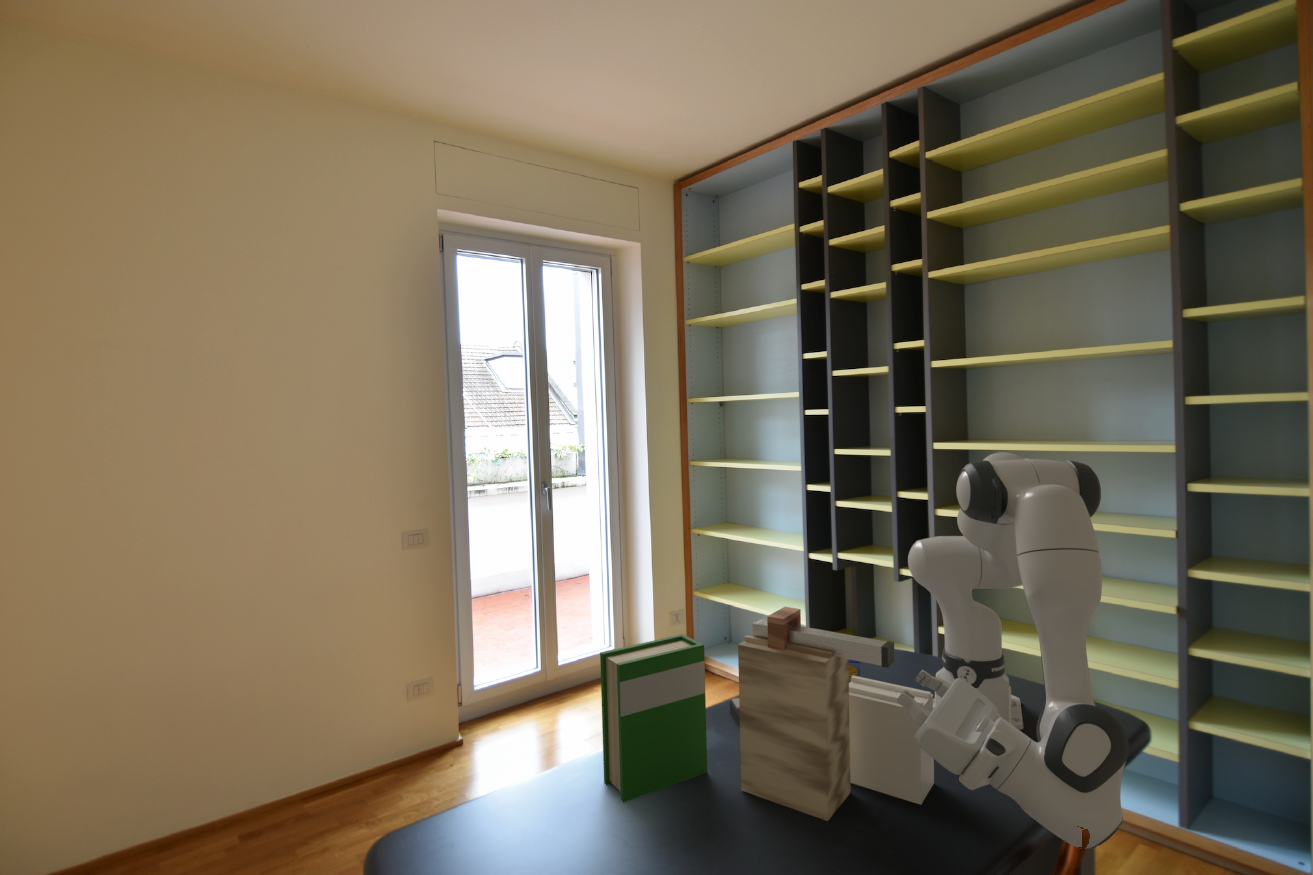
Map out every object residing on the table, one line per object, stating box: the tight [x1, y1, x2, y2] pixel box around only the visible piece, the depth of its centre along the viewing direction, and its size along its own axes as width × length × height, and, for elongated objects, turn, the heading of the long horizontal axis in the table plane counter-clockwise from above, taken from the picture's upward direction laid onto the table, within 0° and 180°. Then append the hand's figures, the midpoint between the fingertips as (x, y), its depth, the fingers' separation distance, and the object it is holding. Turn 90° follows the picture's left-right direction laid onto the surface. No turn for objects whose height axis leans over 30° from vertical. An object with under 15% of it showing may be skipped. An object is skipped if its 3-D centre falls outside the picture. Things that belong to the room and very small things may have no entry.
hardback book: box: [599, 633, 708, 803], centre depth 125 cm, size 18×7×24 cm, turn 121°
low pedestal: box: [849, 676, 935, 806], centre depth 121 cm, size 8×14×17 cm, turn 53°
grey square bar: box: [751, 618, 895, 669], centre depth 115 cm, size 3×24×3 cm, turn 53°
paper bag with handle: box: [737, 606, 852, 822], centre depth 119 cm, size 10×16×31 cm, turn 53°
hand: (909, 684), depth 107 cm, fingers open, 8 cm apart
